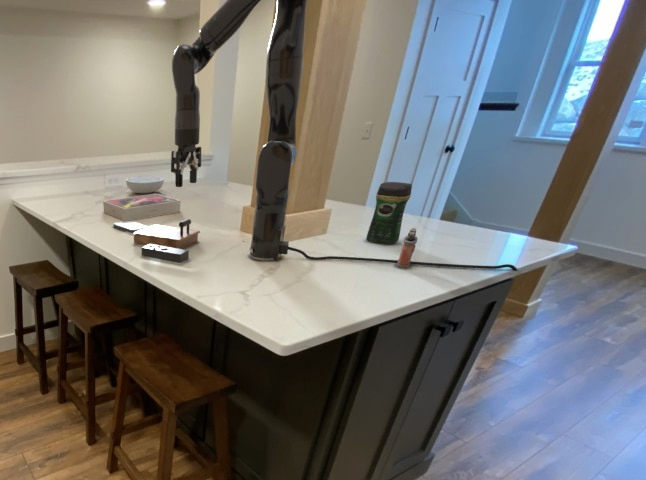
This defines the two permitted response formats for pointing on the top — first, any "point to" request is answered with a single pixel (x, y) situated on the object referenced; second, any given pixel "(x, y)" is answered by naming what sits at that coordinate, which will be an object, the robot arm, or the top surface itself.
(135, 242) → the chest
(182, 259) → the remote
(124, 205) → the product packaging
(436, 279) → the top surface
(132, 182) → the serving bowl
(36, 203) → the top surface
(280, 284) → the top surface
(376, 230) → the coffee jar
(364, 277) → the top surface
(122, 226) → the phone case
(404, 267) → the lighter
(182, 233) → the lid
